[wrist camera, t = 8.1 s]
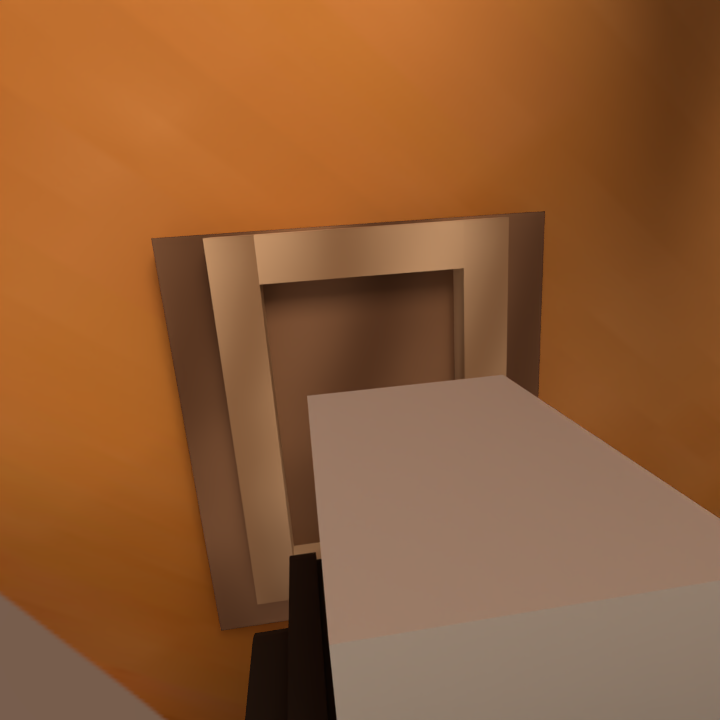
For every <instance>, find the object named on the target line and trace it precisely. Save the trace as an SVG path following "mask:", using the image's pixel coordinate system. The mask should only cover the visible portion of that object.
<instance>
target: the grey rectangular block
mask: <svg viewBox="0 0 720 720" xmlns="http://www.w3.org/2000/svg"><path fill="white" fill-rule="evenodd" d="M307 401H308V412H309V423H310V435H311V446H312V457H313V469H314V480H315V491H316V503H317V514H318V525H319V537H320V548H321V559H322V571H323V582H324V593H325V605H326V616H327V627H328V638H329V649H330V659H331V668H332V678H333V688H334V697H335V707H336V716H337V720H720V518H718V517H717V516H715V515H713V514H712V513H710V512H709V511H707V510H706V509H704V508H703V507H701V506H700V505H698V504H697V503H695V502H694V501H692V500H691V499H689V498H688V497H686V496H685V495H683V494H682V493H680V492H679V491H677V490H676V489H674V488H673V487H671V486H670V485H668V484H667V483H665V482H664V481H662V480H661V479H659V478H658V477H656V476H655V475H653V474H652V473H650V472H649V471H647V470H646V469H644V468H643V467H641V466H640V465H638V464H637V463H635V462H634V461H632V460H631V459H629V458H628V457H626V456H625V455H623V454H622V453H620V452H619V451H617V450H616V449H614V448H613V447H611V446H610V445H608V444H607V443H605V442H604V441H602V440H601V439H599V438H598V437H596V436H595V435H593V434H592V433H590V432H589V431H587V430H586V429H584V428H583V427H581V426H580V425H578V424H577V423H575V422H574V421H572V420H571V419H569V418H567V417H566V416H564V415H563V414H561V413H560V412H558V411H557V410H555V409H554V408H552V407H551V406H549V405H548V404H546V403H545V402H543V401H542V400H540V399H539V398H537V397H536V396H534V395H533V394H531V393H530V392H528V391H527V390H525V389H524V388H522V387H521V386H519V385H518V384H516V383H515V382H513V381H512V380H510V379H509V378H507V377H506V376H504V375H496V376H487V377H477V378H468V379H459V380H450V381H440V382H431V383H422V384H412V385H403V386H394V387H385V388H375V389H366V390H357V391H347V392H338V393H329V394H319V395H310V396H307Z"/></svg>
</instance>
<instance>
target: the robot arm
mask: <svg viewBox="0 0 720 720" xmlns="http://www.w3.org/2000/svg"><path fill="white" fill-rule="evenodd" d="M245 720H337V716H336V707H335V697H334V688H333V678H332V668H331V659H330V649H329V638H328V627H327V616H326V605H325V593H324V582H323V571H322V559H317V557H316V552H312V553H305V554H298V555H291V556H290V557H289V628H286V629H279V630H273V631H267V632H261V633H255V635H254V638H253V645H252V655H251V665H250V675H249V686H248V696H247V706H246V716H245Z"/></svg>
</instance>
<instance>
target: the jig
mask: <svg viewBox="0 0 720 720" xmlns="http://www.w3.org/2000/svg"><path fill="white" fill-rule="evenodd" d="M544 223H545V211H542V212H526V213H512V214H498V215H483V216H469V217H454V218H440V219H425V220H411V221H396V222H382V223H368V224H353V225H339V226H324V227H310V228H295V229H281V230H266V231H252V232H237V233H223V234H209V235H194V236H180V237H165V238H152V239H151V240H152V245H153V251H154V256H155V262H156V268H157V273H158V279H159V285H160V290H161V296H162V301H163V307H164V313H165V318H166V324H167V329H168V335H169V341H170V346H171V352H172V358H173V363H174V369H175V374H176V380H177V386H178V391H179V397H180V403H181V408H182V414H183V419H184V425H185V431H186V436H187V442H188V447H189V453H190V459H191V464H192V470H193V476H194V481H195V487H196V492H197V498H198V504H199V509H200V515H201V521H202V526H203V532H204V537H205V543H206V549H207V554H208V560H209V565H210V571H211V577H212V582H213V588H214V594H215V599H216V605H217V610H218V616H219V622H220V627H221V630H228V629H234V628H241V627H248V626H254V625H261V624H267V623H274V622H281V621H287V620H289V557H290V556H291V555H298V554H305V553H312V552H316V557H317V559H321V548H320V537H319V525H318V514H317V503H316V491H315V480H314V469H313V457H312V446H311V435H310V423H309V412H308V401H307V396H310V395H319V394H329V393H338V392H347V391H357V390H366V389H375V388H385V387H394V386H403V385H412V384H422V383H431V382H440V381H450V380H459V379H468V378H477V377H487V376H496V375H504V376H506V377H507V378H509V379H510V380H512V381H513V382H515V383H516V384H518V385H519V386H521V387H522V388H524V389H525V390H527V391H528V392H530V393H531V394H533V395H534V396H536V397H537V398H538V389H539V362H540V334H541V306H542V278H543V250H544Z"/></svg>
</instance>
